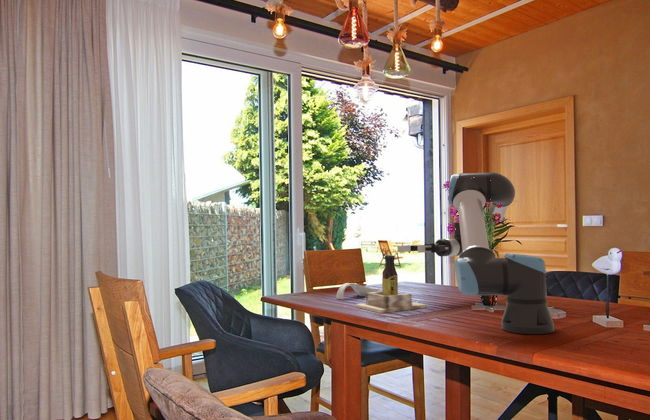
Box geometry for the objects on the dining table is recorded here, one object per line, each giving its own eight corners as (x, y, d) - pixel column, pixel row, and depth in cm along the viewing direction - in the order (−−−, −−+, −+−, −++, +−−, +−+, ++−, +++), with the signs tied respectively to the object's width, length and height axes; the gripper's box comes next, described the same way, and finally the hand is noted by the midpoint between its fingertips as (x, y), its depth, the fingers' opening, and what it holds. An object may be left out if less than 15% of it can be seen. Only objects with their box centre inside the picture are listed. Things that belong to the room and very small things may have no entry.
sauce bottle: (393, 306, 196) (391, 256, 197) (379, 304, 200) (378, 255, 201) (401, 303, 202) (399, 255, 202) (387, 302, 205) (386, 254, 206)
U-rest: (380, 313, 188) (380, 298, 188) (355, 307, 204) (355, 293, 204) (425, 307, 198) (425, 293, 198) (398, 302, 214) (398, 288, 214)
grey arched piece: (366, 293, 246) (365, 279, 246) (383, 295, 237) (383, 280, 238) (331, 298, 230) (330, 283, 231) (348, 301, 222) (348, 285, 222)
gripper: (467, 256, 206) (427, 258, 196) (427, 255, 228) (390, 257, 218) (466, 238, 206) (427, 240, 196) (427, 239, 228) (390, 240, 218)
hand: (407, 249), depth 207 cm, fingers open, 13 cm apart
